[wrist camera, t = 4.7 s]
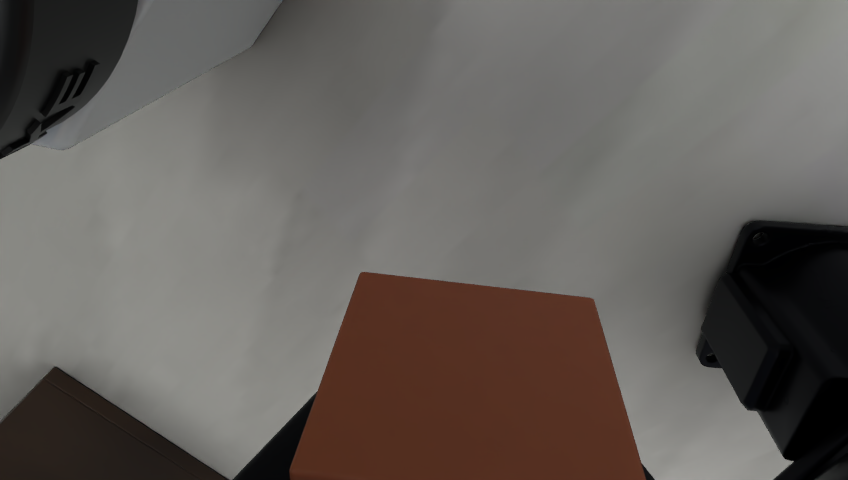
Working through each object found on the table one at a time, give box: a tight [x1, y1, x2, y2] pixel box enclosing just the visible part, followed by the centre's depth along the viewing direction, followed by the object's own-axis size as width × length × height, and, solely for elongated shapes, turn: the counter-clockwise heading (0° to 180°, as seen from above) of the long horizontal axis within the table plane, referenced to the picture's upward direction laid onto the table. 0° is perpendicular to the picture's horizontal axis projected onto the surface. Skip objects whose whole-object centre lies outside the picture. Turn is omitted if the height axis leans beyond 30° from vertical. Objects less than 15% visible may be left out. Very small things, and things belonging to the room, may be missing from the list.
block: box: [289, 272, 646, 480], centre depth 9 cm, size 4×4×4 cm
